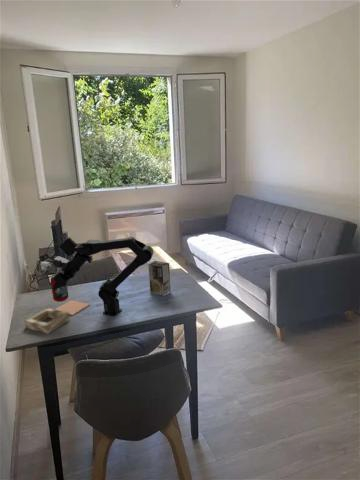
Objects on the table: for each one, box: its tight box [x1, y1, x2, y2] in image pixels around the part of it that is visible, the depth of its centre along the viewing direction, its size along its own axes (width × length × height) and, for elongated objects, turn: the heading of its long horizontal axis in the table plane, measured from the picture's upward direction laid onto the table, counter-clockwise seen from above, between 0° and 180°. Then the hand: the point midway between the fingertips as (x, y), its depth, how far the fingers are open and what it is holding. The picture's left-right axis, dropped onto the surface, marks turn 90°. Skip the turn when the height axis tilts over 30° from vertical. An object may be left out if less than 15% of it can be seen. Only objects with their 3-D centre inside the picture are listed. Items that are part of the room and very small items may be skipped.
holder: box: [24, 307, 71, 335], centre depth 158 cm, size 13×13×4 cm
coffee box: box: [148, 260, 171, 296], centre depth 184 cm, size 9×6×16 cm
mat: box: [54, 300, 91, 317], centre depth 172 cm, size 12×12×1 cm
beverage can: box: [50, 273, 69, 303], centre depth 165 cm, size 7×7×12 cm
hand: (56, 286), depth 165 cm, fingers closed on beverage can, 7 cm apart
